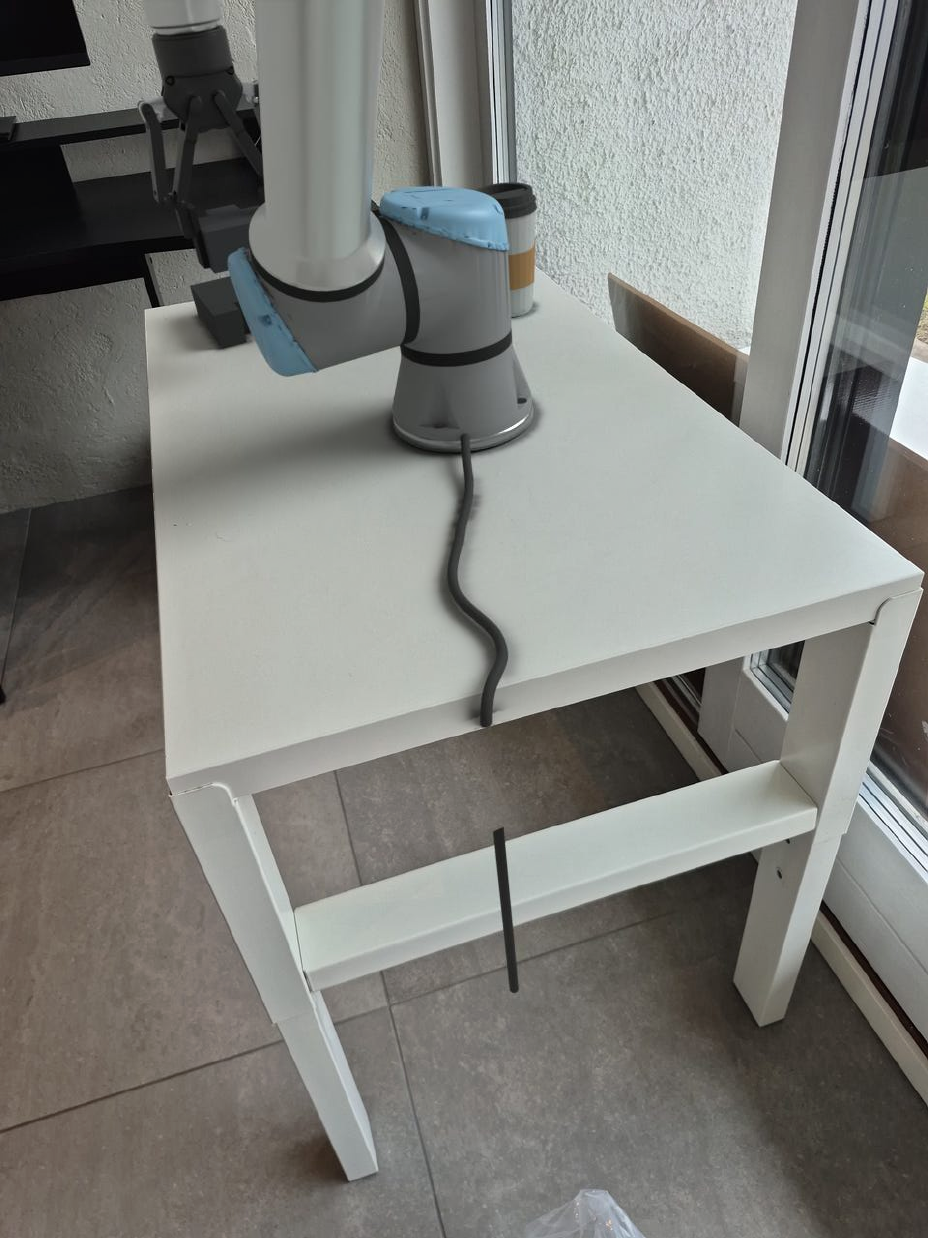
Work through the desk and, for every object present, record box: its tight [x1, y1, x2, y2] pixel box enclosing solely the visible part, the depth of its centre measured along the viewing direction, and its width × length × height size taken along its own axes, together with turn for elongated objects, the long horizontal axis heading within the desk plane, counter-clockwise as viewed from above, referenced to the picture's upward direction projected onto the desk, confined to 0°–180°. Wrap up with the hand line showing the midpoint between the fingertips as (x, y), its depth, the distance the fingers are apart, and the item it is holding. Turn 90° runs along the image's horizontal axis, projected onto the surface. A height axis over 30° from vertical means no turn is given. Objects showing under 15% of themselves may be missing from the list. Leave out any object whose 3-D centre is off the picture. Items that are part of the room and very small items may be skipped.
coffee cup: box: [475, 181, 538, 318], centre depth 117 cm, size 8×8×15 cm
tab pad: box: [198, 203, 260, 274], centre depth 105 cm, size 9×8×4 cm
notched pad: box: [189, 275, 252, 349], centre depth 125 cm, size 14×12×4 cm
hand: (241, 256), depth 106 cm, fingers closed on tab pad, 8 cm apart
